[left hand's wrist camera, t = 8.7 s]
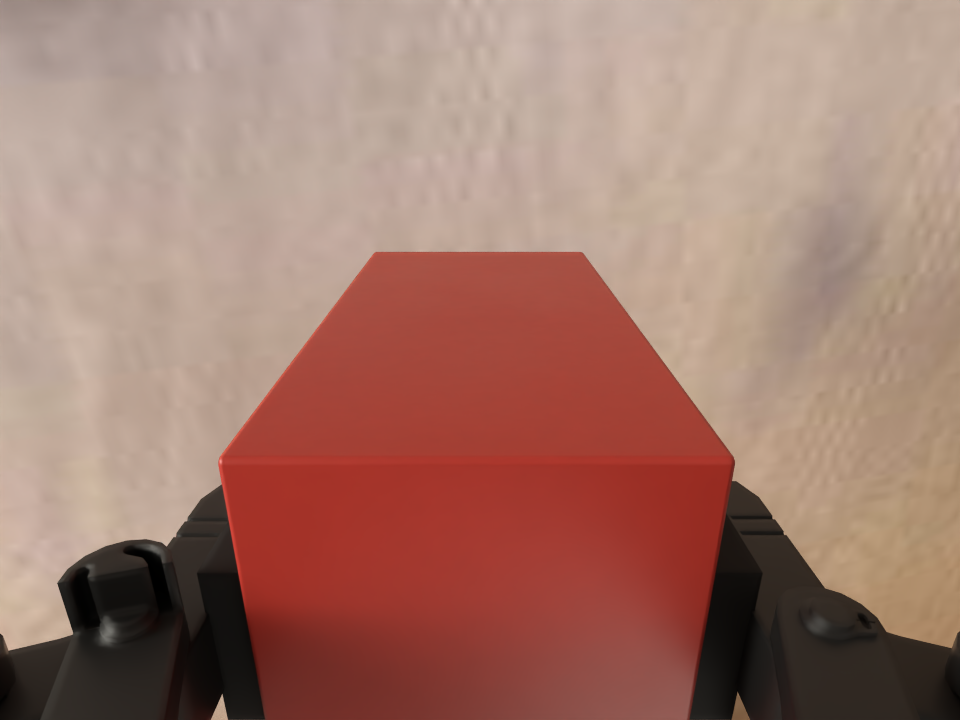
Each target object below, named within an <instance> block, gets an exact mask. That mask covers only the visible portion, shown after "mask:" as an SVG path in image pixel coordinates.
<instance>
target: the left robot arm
mask: <svg viewBox="0 0 960 720" xmlns="http://www.w3.org/2000/svg"><path fill="white" fill-rule="evenodd" d="M57 584H58V587H59V590H60V593H61V596H62V599H63V602H64V605H65V609H66V612H67V615H68V618H69V621H70V624H71V627H72V630H73V635H71V636H67V637H64V638H61V639H57V640H53V641H49V642H44V643H40V644H36V645H32V646H27V647H23V648H19V649H15V650H10V651H8V648H7V646H6V643H5V640H4V638H3V636H2V635H1V634H0V720H211V718H212V716H213V713H214V711H215V709H216V707H217V704H218V702H219V700H220V697H221V695H222V694H223V698H224V703H225V707H226V712H227V717H228V720H265V716H264V711H263V705H262V700H261V695H260V689H259V684H258V678H257V673H256V667H255V662H254V656H253V651H252V645H251V640H250V634H249V629H248V623H247V618H246V613H245V607H244V602H243V596H242V591H241V585H240V580H239V574H238V569H237V563H236V558H235V552H234V547H233V541H232V536H231V531H230V525H229V520H228V514H227V509H226V503H225V498H224V492H223V487H222V485H220V486H219V487H218V488H216V489H215V490H213V491H212V492H211V493H209V494H208V495H206V496H205V497H204V498H202V499H201V500H200V501H199V503H198V504H197V506H196V507H195V508H194V510H193V511H192V513H191V514H190V515H189V517H188V521H187V522H184V524H183V525H182V526H181V528H180V529H179V531H178V532H177V535H176V537H173V539H172V540H171V542H170V543H169V544H168V546H167V547H166V546H165V545H164V544H163V543H161V542H156V541H152V540H147V539H144V540H129V541H124V542H120V543H116V544H113V545H109V546H105V547H103V548H101V549H99V550H97V551H95V552H93V553H91V554H89V555H86V556H85V557H83V558H82V559H81V560H79V561H78V562H77V563H75V564H74V565H73V566H71V567H70V568H69V569H67V571H66V572H65V573H64V575H63V576H62V577H61V579H60V580H59V581H58V583H57ZM737 692H738V693H739V695H740V698H741V700H742V702H743V704H744V707H745V709H746V711H747V713H748V716H749V718H750V720H960V632H958V634H957V636H956V639H955V642H954V644H953V647H952V648H948V647H944V646H939V645H935V644H931V643H927V642H922V641H918V640H914V639H909V638H905V637H901V636H898V635H894V634H891V633H888V632H886V631H885V629H884V628H883V626H882V624H881V623H880V621H879V620H878V618H877V617H876V616H875V615H873V614H872V613H871V612H870V611H869V610H868V609H866V608H865V607H864V606H863V605H862V604H860V603H858V602H856V601H854V600H853V599H851V598H849V597H847V596H845V595H843V594H841V593H838V592H835V591H832V590H828V589H825V588H824V586H823V585H822V584H821V582H820V581H819V579H818V578H817V577H816V575H815V574H814V573H813V571H812V570H811V568H810V567H809V566H808V564H807V563H806V562H805V560H804V559H803V557H802V556H801V555H800V553H799V552H798V551H797V549H796V548H795V546H794V545H793V544H792V542H791V541H790V539H789V538H788V537H787V535H784V533H783V530H782V528H781V527H780V526H779V524H778V523H777V522H776V520H775V519H772V515H771V513H770V512H769V511H768V509H767V508H766V506H765V505H764V504H763V502H762V501H761V500H760V498H759V497H758V496H756V495H755V494H754V493H752V492H751V491H749V490H748V489H746V488H745V487H744V486H742V485H741V484H739V483H738V482H737V481H732V483H731V489H730V494H729V500H728V506H727V511H726V517H725V522H724V528H723V534H722V539H721V545H720V550H719V556H718V562H717V567H716V573H715V579H714V584H713V590H712V595H711V601H710V607H709V612H708V618H707V623H706V629H705V635H704V640H703V646H702V652H701V657H700V663H699V668H698V674H697V680H696V685H695V691H694V696H693V702H692V708H691V713H690V719H689V720H732V715H733V710H734V706H735V701H736V696H737Z"/></svg>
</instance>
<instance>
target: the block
mask: <svg viewBox="0 0 960 720" xmlns="http://www.w3.org/2000/svg"><path fill="white" fill-rule="evenodd" d="M218 465H219V470H220V476H221V481H222V487H223V492H224V498H225V503H226V509H227V514H228V520H229V525H230V531H231V536H232V541H233V547H234V552H235V558H236V563H237V569H238V574H239V580H240V585H241V591H242V596H243V602H244V607H245V613H246V618H247V623H248V629H249V634H250V640H251V645H252V651H253V656H254V662H255V667H256V673H257V678H258V684H259V689H260V695H261V700H262V705H263V711H264V716H265V720H689V719H690V713H691V708H692V702H693V696H694V691H695V685H696V680H697V674H698V668H699V663H700V657H701V652H702V646H703V640H704V635H705V629H706V623H707V618H708V612H709V607H710V601H711V595H712V590H713V584H714V579H715V573H716V567H717V562H718V556H719V550H720V545H721V539H722V534H723V528H724V522H725V517H726V511H727V506H728V500H729V494H730V489H731V483H732V477H733V472H734V466H735V460H734V457H733V456H732V454H731V453H730V452H729V450H728V449H727V448H726V446H725V445H724V443H723V442H722V441H721V439H720V438H719V437H718V435H717V434H716V433H715V431H714V430H713V429H712V427H711V426H710V425H709V423H708V422H707V420H706V419H705V418H704V416H703V415H702V414H701V412H700V411H699V410H698V408H697V407H696V406H695V404H694V403H693V401H692V400H691V399H690V397H689V396H688V395H687V393H686V392H685V391H684V389H683V388H682V387H681V385H680V384H679V382H678V381H677V380H676V378H675V377H674V376H673V374H672V373H671V372H670V370H669V369H668V368H667V366H666V365H665V364H664V362H663V361H662V359H661V358H660V357H659V355H658V354H657V353H656V351H655V350H654V349H653V347H652V346H651V345H650V343H649V342H648V340H647V339H646V338H645V336H644V335H643V334H642V332H641V331H640V330H639V328H638V327H637V326H636V324H635V323H634V321H633V320H632V319H631V317H630V316H629V315H628V313H627V312H626V311H625V309H624V308H623V307H622V305H621V304H620V303H619V301H618V300H617V298H616V297H615V296H614V294H613V293H612V292H611V290H610V289H609V288H608V286H607V285H606V284H605V282H604V281H603V279H602V278H601V277H600V275H599V274H598V273H597V271H596V270H595V269H594V267H593V266H592V265H591V263H590V262H589V261H588V259H587V258H586V256H585V255H584V254H583V253H582V252H375V253H374V254H373V255H372V257H371V258H370V259H369V261H368V262H367V263H366V265H365V266H364V267H363V269H362V270H361V271H360V272H359V274H358V275H357V276H356V278H355V279H354V280H353V282H352V283H351V284H350V286H349V287H348V288H347V290H346V291H345V292H344V294H343V295H342V296H341V298H340V299H339V300H338V302H337V303H336V304H335V306H334V307H333V308H332V309H331V311H330V312H329V313H328V315H327V316H326V317H325V319H324V320H323V321H322V323H321V324H320V325H319V327H318V328H317V329H316V331H315V332H314V333H313V335H312V336H311V337H310V339H309V340H308V341H307V343H306V344H305V345H304V346H303V348H302V349H301V350H300V352H299V353H298V354H297V356H296V357H295V358H294V360H293V361H292V362H291V364H290V365H289V366H288V368H287V369H286V370H285V372H284V373H283V374H282V376H281V377H280V378H279V379H278V381H277V382H276V383H275V385H274V386H273V387H272V389H271V390H270V391H269V393H268V394H267V395H266V397H265V398H264V399H263V401H262V402H261V403H260V405H259V406H258V407H257V409H256V410H255V411H254V413H253V414H252V415H251V416H250V418H249V419H248V420H247V422H246V423H245V424H244V426H243V427H242V428H241V430H240V431H239V432H238V434H237V435H236V436H235V438H234V439H233V440H232V442H231V443H230V444H229V446H228V447H227V448H226V450H225V451H224V452H223V453H222V455H221V456H220V458H219V461H218Z"/></svg>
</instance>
